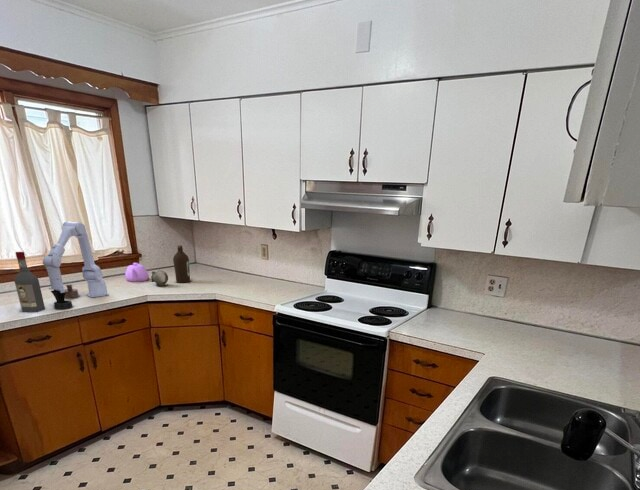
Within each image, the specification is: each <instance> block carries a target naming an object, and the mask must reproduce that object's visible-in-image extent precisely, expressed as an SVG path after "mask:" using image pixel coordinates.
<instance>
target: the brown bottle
mask: <svg viewBox="0 0 640 490" xmlns="http://www.w3.org/2000/svg"><path fill="white" fill-rule="evenodd" d="M65 286H66V289H65V288H64V290H65V291H66V294H65V299H76V298H77V299H78V298H79V297H80V293H79V289H78V288H73V284H66V285H65Z"/></svg>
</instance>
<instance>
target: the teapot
mask: <svg viewBox="0 0 640 490" xmlns="http://www.w3.org/2000/svg"><path fill="white" fill-rule="evenodd" d="M149 277H150V275H149V272H148V271H147V269H146V267H145V266H144V265H142V264H140V263H138V262H132V264H130V265H128V266H127V268H126V270H125V272H124V279H126V280H127V281H128V282H133V283H137V282H145V281H148V280H149Z"/></svg>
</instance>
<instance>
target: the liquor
mask: <svg viewBox="0 0 640 490" xmlns="http://www.w3.org/2000/svg"><path fill="white" fill-rule="evenodd" d="M15 257H16V260H17V263H18V267H19V272H18V273H17V274H16V276H15V277H14V286H15V289H16V293H17V297H18V301H19V305H20V308H21V311H23V312H24V313H38V312H40V311H43V310H45V308H46V306H45V302H44V297H43V293H42V289H41V285H40V280H39V278H38V277H37V276H36V275H35V274H34V273H33V272H31V271H30V269H29V268H28V264H27V261H26V254H25V252H24V251H15Z"/></svg>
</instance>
